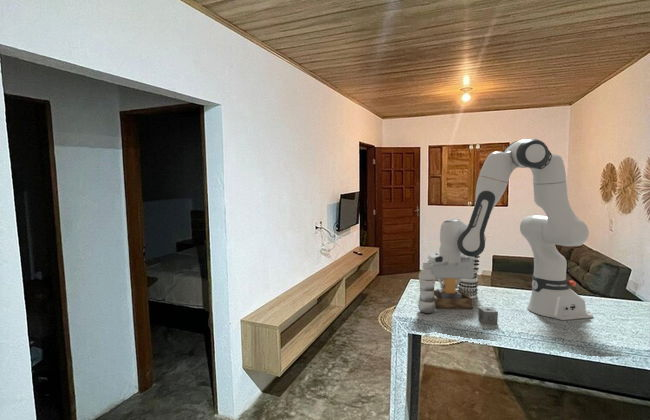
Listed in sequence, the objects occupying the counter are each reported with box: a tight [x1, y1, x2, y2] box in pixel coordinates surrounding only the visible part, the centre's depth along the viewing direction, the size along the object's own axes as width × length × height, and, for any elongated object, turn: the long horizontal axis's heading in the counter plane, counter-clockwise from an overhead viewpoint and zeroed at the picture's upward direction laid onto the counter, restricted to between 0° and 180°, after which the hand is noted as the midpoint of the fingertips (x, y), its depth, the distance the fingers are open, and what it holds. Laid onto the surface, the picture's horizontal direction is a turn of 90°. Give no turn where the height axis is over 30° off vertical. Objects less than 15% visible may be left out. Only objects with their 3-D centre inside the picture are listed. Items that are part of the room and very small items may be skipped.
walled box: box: [434, 288, 473, 310], centre depth 153 cm, size 15×13×5 cm
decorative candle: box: [457, 253, 481, 299], centre depth 164 cm, size 9×9×25 cm
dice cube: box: [477, 306, 499, 326], centre depth 133 cm, size 5×5×5 cm
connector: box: [442, 278, 457, 293], centre depth 153 cm, size 4×4×10 cm
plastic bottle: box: [417, 261, 436, 314], centre depth 143 cm, size 6×7×20 cm
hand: (449, 288), depth 153 cm, fingers closed on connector, 4 cm apart
